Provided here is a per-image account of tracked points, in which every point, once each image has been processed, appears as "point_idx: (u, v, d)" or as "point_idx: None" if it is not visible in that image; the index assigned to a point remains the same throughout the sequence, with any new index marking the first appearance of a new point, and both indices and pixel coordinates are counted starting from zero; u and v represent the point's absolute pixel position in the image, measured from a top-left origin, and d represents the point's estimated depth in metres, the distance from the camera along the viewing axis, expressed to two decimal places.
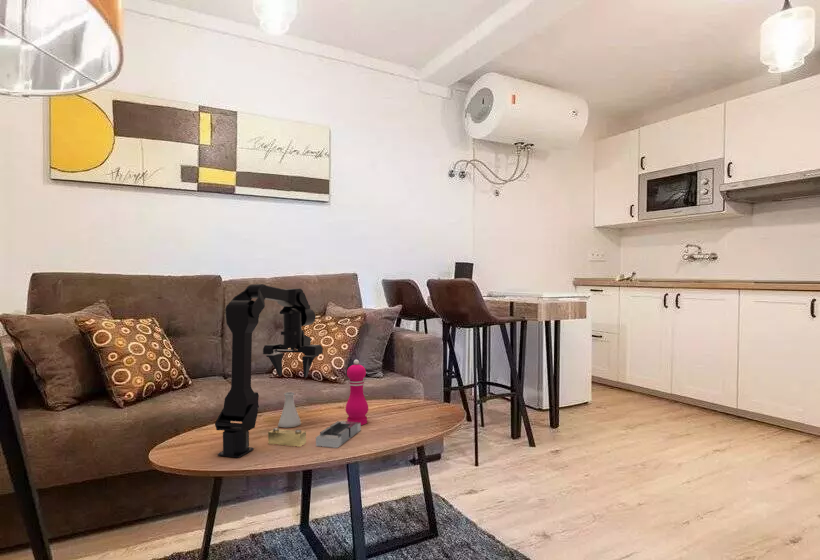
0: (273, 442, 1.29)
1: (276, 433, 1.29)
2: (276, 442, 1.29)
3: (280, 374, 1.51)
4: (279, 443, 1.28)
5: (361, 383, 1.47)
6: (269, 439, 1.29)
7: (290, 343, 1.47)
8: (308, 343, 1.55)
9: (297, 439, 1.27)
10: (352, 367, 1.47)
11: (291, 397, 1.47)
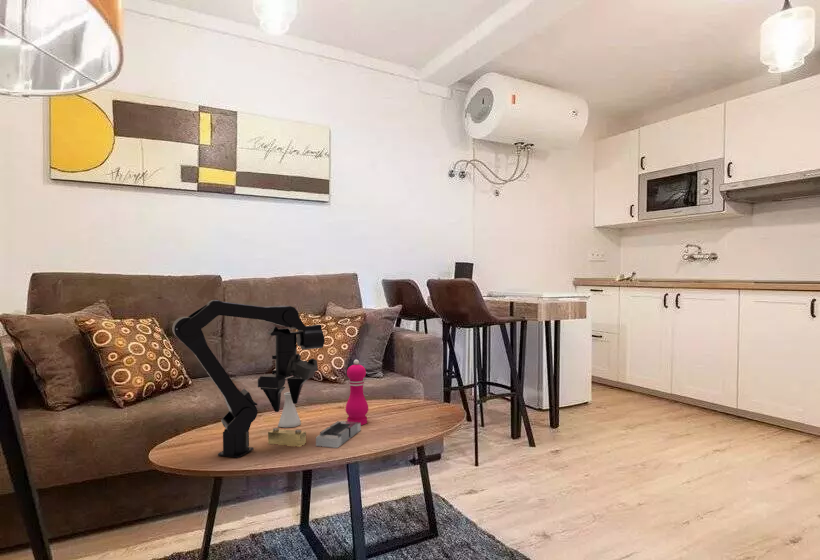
0: (273, 442, 1.29)
1: (276, 433, 1.29)
2: (276, 442, 1.29)
3: (294, 401, 1.34)
4: (279, 443, 1.28)
5: (361, 383, 1.47)
6: (269, 439, 1.29)
7: None
8: (300, 373, 1.26)
9: (297, 438, 1.27)
10: (352, 367, 1.47)
11: None
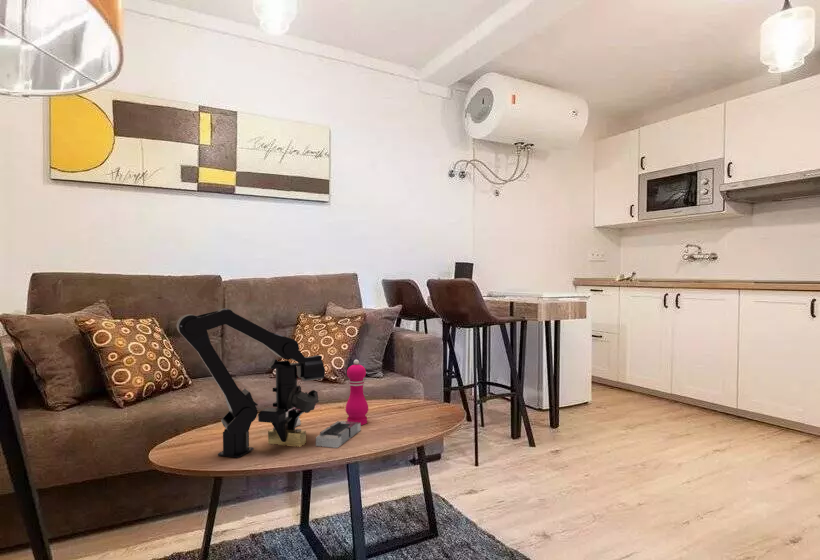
0: (273, 441, 1.29)
1: (276, 432, 1.29)
2: (276, 441, 1.29)
3: None
4: (279, 442, 1.28)
5: (361, 383, 1.47)
6: (269, 438, 1.29)
7: None
8: (301, 407, 1.26)
9: (297, 438, 1.27)
10: (352, 367, 1.47)
11: None
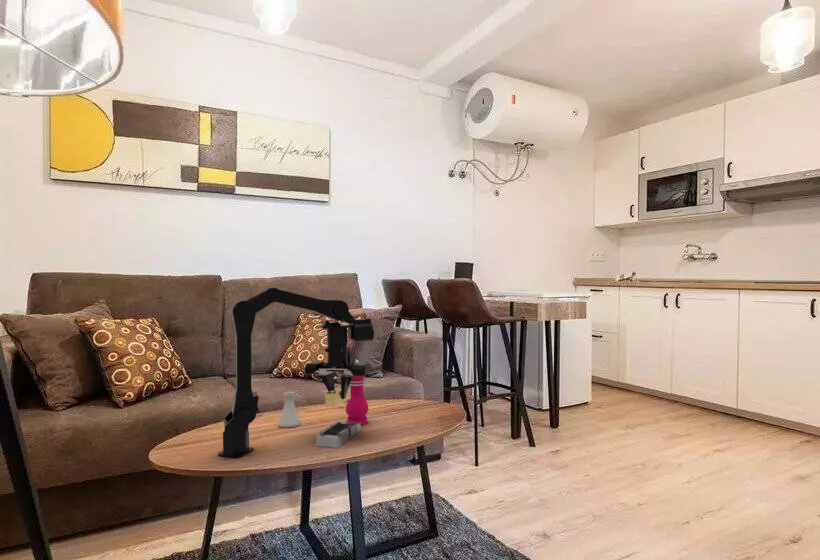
0: (337, 402, 1.30)
1: (339, 392, 1.31)
2: (339, 401, 1.31)
3: None
4: (341, 401, 1.32)
5: (361, 383, 1.47)
6: (336, 401, 1.29)
7: (336, 362, 1.31)
8: (353, 360, 1.39)
9: (349, 391, 1.37)
10: None
11: (291, 397, 1.47)
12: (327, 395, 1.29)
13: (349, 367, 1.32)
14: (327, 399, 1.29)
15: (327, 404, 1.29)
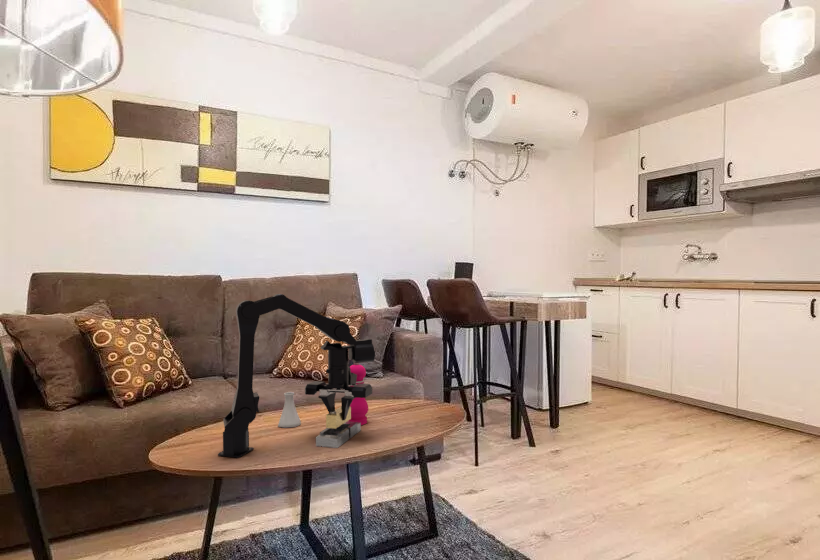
0: (338, 424, 1.30)
1: (339, 414, 1.31)
2: (339, 422, 1.31)
3: None
4: (341, 422, 1.32)
5: (361, 383, 1.47)
6: (336, 422, 1.29)
7: (336, 383, 1.31)
8: (354, 381, 1.39)
9: (349, 411, 1.37)
10: (352, 367, 1.47)
11: (291, 397, 1.47)
12: (327, 417, 1.29)
13: (350, 388, 1.32)
14: (327, 421, 1.29)
15: (327, 426, 1.29)
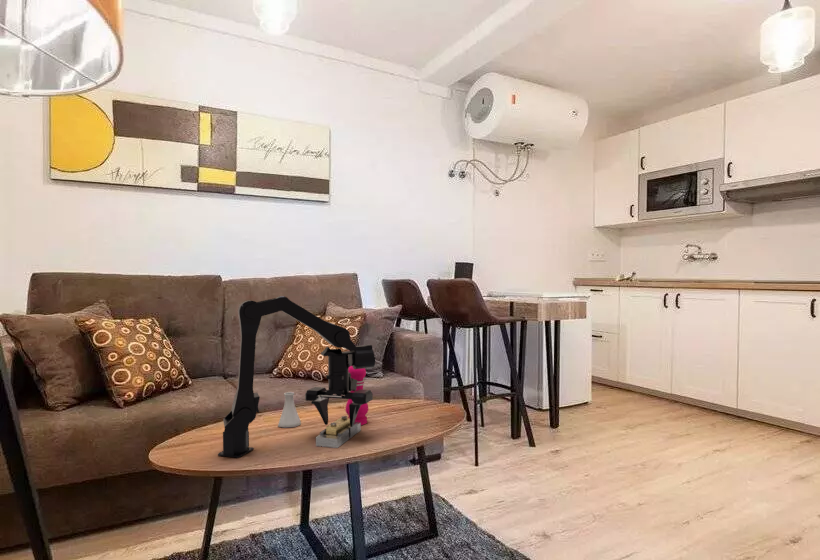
0: None
1: (340, 425, 1.31)
2: None
3: (326, 422, 1.35)
4: None
5: (361, 383, 1.47)
6: (336, 434, 1.29)
7: (337, 389, 1.31)
8: (354, 386, 1.39)
9: (349, 422, 1.37)
10: (352, 367, 1.47)
11: (291, 397, 1.47)
12: (328, 428, 1.29)
13: (350, 394, 1.32)
14: (328, 432, 1.29)
15: None
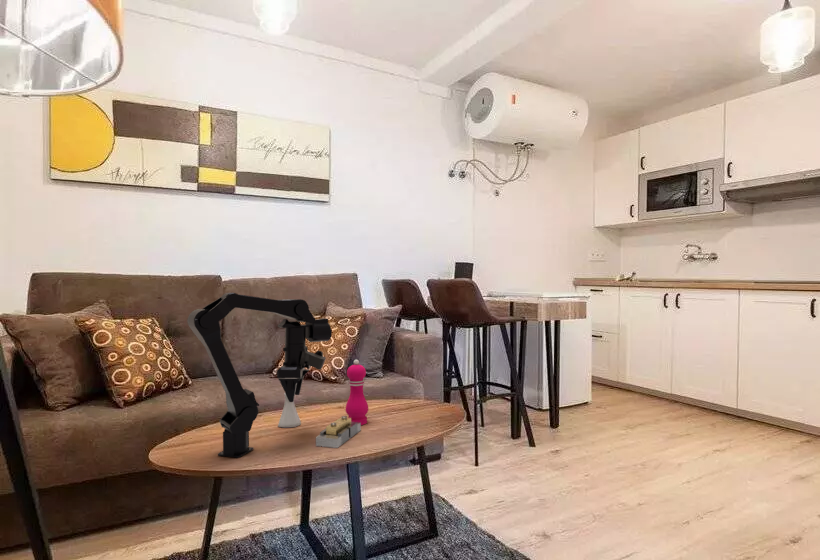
0: None
1: (340, 425, 1.31)
2: None
3: (296, 393, 1.37)
4: None
5: (361, 383, 1.47)
6: (336, 434, 1.29)
7: None
8: (314, 364, 1.31)
9: (349, 422, 1.37)
10: (352, 367, 1.47)
11: None
12: (328, 428, 1.29)
13: None
14: (328, 432, 1.29)
15: None
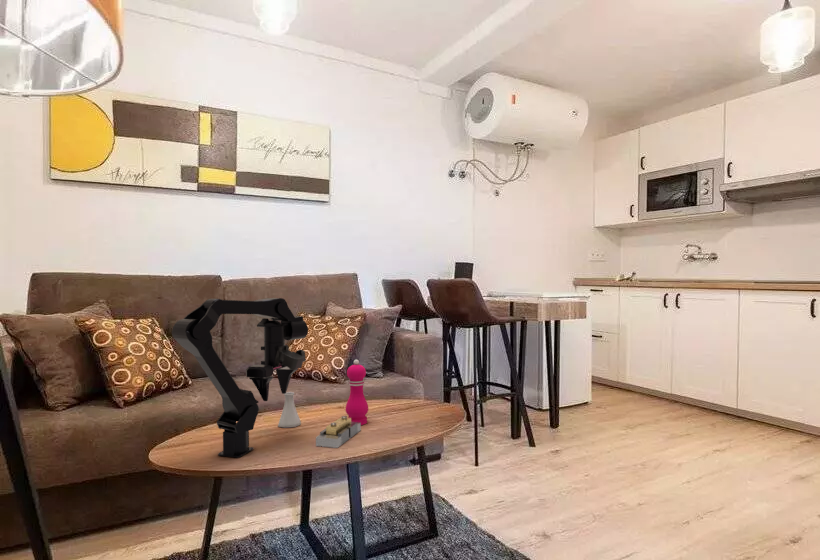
0: None
1: (340, 425, 1.31)
2: None
3: (283, 391, 1.37)
4: None
5: (361, 383, 1.47)
6: (336, 434, 1.29)
7: None
8: (288, 364, 1.29)
9: (349, 422, 1.37)
10: (352, 367, 1.47)
11: (291, 397, 1.47)
12: (328, 428, 1.29)
13: None
14: (328, 432, 1.29)
15: None
